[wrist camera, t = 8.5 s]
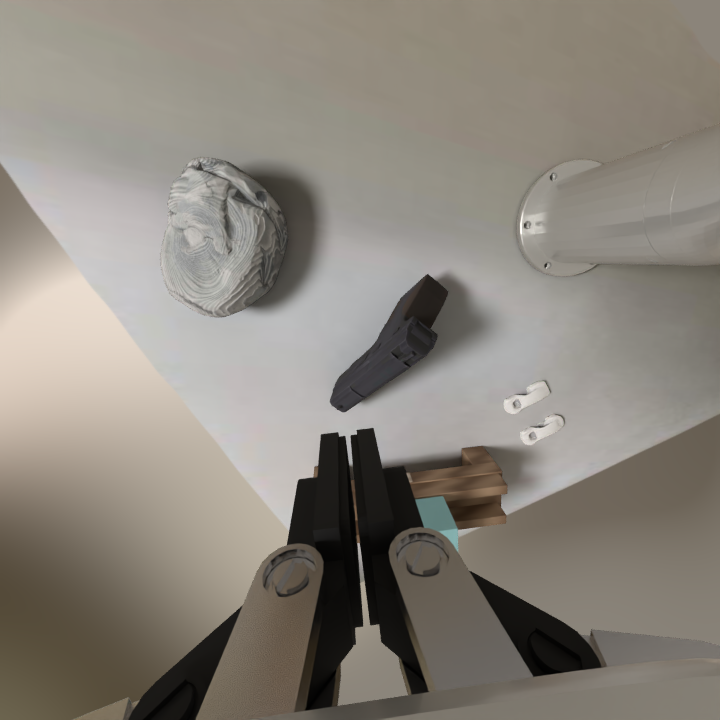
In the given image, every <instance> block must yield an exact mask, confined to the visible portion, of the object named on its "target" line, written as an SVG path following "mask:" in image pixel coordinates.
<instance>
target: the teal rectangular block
mask: <svg viewBox="0 0 720 720" xmlns="http://www.w3.org/2000/svg"><path fill="white" fill-rule="evenodd" d="M415 501H416V504H417V507H418V510H419V513H420V516H421V519H422V522H423V525H424V528H430V529H433V530H436V531H438V532H440V533H441V534H443V535H444V536H446V537H447V538H448V539H449V540H450V541H451V543H452V544H453V545H454V547H455V548H456V550H457V552H458V528H457V526H456V524H455V521H454V519H453V517H452V515H451V513H450V510H449V508H448V506H447V504H446V502H445V499H444V497H443V496H439V497H431V498H424V499H416V500H415Z"/></svg>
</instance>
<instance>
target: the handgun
mask: <svg viewBox="0 0 720 720" xmlns="http://www.w3.org/2000/svg"><path fill="white" fill-rule="evenodd" d="M447 295H448V291H447V290H446V289H445V288H444V287H443V286H441V285H440V284H439V283H438V282H437V281H435V280H434V279H433V278H432V277H431V276H429V275H428V274H427V275H426V276H424V277H423V278H422V279H421V280H420V281H419V282H418V283H417V284H416V285H415V286H414V287H412V288H411V289H410V290H409V291H408V292H407V293H406V294H405V295H404V296H403V297H402V298H401V299H400V301H399V302H398V303H397V305H396V307H395V309H394V311H393V312H392V314H391V316H390V318H389V320H388V321H387V323H386V324H385V326H384V328H383V329H382V331H381V333H380V335H379V337H378V339H377V341H376V342H375V343H374V345H373V346H372V347H371V348H370V349H369V350H368V351H367V352H366V353H365V354H363V355H362V356H361V357H360V358H359V359H358V360H356V361H355V362H354V363H353V364H352V365H351V366H350V368H349V369H348V370H346V371H345V372H344V373H343V374H342V375H341V376H340V377H339V378H338V380H337V382H336V384H335V387H334V389H333V393H332V396H331V399H330V403H331V405H332V406H334V407H335V408H337V410H340V411H341V412H346V411H348V410H349V409H351V408H352V407H354V406H355V405H356V404H358V403H359V402H361V401H362V400H364V399H365V398H366V397H368V396H369V395H371V394H372V393H374V392H375V391H376V390H378V389H379V388H381V387H382V386H384V385H385V384H386V383H388V382H389V381H391V380H392V379H394V378H395V377H397V376H398V375H400V374H401V373H403V372H404V371H406V370H407V369H409V368H410V367H411V366H412V365H414V364H415V363H417V362H418V361H420V360H421V359H422V358H424V357H425V356H427V354H428V353H429V352H430V350H432V349H433V347H434V345H435V342H436V340H437V337H438V335H437V334H436V333H435V332H434V331H432V330H431V329H430V328H431V326H432V324H433V323H434V321H435V319H436V317H437V315H438V314H439V312H440V310H441V308H442V306H443V304H444V302H445V300H446V297H447Z"/></svg>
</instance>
